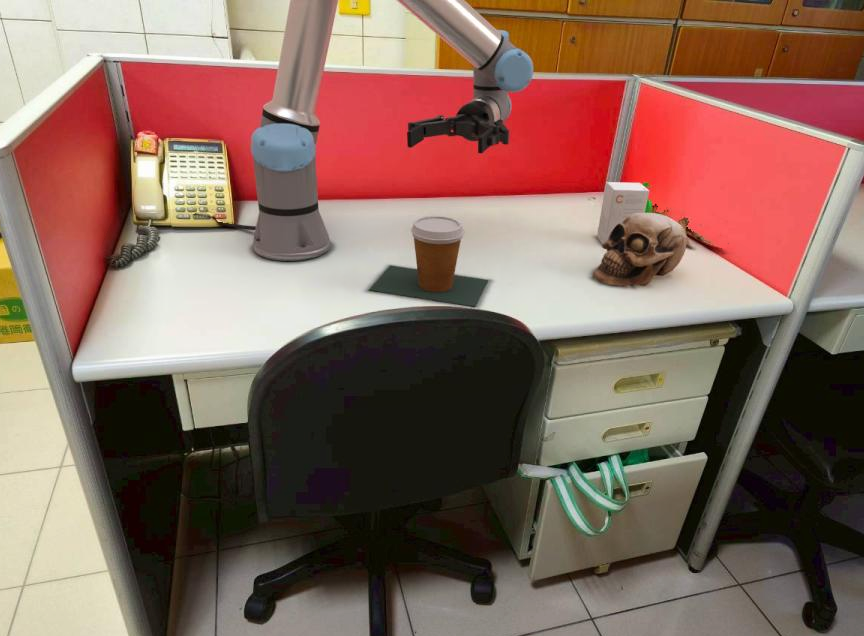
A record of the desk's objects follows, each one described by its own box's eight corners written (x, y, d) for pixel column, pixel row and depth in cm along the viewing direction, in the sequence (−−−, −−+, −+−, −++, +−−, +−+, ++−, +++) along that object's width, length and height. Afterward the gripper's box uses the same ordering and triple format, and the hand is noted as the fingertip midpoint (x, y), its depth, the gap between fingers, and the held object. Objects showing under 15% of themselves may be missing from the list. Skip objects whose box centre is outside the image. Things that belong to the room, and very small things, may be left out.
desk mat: (368, 290, 115) (368, 289, 115) (390, 266, 125) (390, 265, 125) (475, 307, 112) (475, 306, 111) (488, 280, 122) (488, 279, 121)
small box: (629, 237, 148) (640, 182, 141) (638, 247, 142) (650, 190, 135) (595, 236, 147) (605, 181, 140) (603, 246, 141) (614, 189, 135)
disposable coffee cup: (454, 299, 113) (458, 235, 107) (404, 292, 115) (404, 229, 108) (465, 278, 121) (469, 218, 115) (417, 272, 123) (419, 212, 116)
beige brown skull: (588, 279, 124) (604, 213, 118) (606, 260, 139) (621, 199, 133) (667, 300, 119) (688, 232, 114) (677, 277, 134) (696, 216, 128)
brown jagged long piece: (656, 230, 154) (700, 256, 140) (660, 211, 152) (705, 236, 137) (689, 227, 157) (735, 252, 142) (693, 209, 154) (741, 232, 140)
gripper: (535, 142, 129) (510, 169, 112) (422, 133, 136) (382, 158, 119) (537, 103, 125) (511, 125, 108) (421, 96, 132) (379, 116, 115)
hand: (443, 142), depth 113 cm, fingers open, 13 cm apart
